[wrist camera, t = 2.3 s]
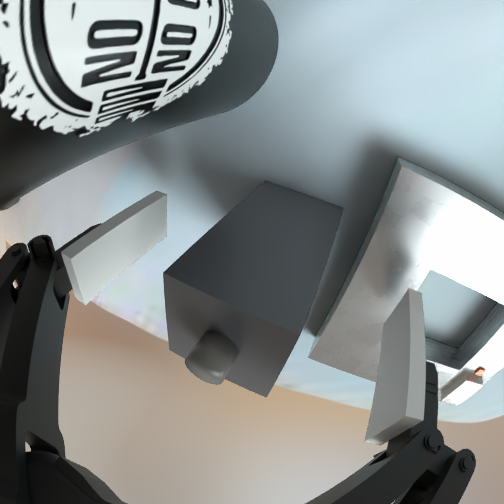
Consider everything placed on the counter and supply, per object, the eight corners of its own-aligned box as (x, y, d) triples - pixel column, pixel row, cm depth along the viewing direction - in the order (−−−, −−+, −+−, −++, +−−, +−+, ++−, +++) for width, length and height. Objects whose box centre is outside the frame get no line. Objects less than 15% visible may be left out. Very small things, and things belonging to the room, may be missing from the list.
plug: (252, 245, 18) (154, 369, 10) (265, 180, 15) (139, 296, 8) (318, 271, 17) (254, 421, 9) (343, 208, 14) (286, 368, 7)
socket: (315, 337, 20) (305, 365, 18) (397, 156, 12) (403, 170, 10) (456, 386, 17) (456, 412, 15) (564, 259, 9) (580, 284, 7)
